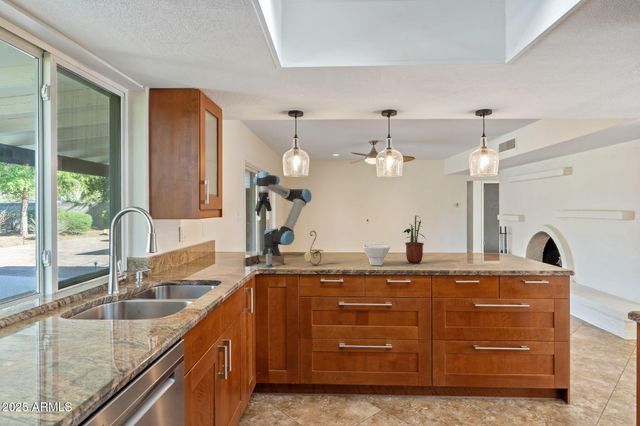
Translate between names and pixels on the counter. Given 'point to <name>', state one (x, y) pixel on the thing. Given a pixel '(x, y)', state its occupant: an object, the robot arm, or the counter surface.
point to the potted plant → (414, 246)
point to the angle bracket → (267, 261)
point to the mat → (268, 267)
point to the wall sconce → (308, 254)
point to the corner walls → (263, 260)
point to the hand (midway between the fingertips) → (263, 219)
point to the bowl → (376, 253)
